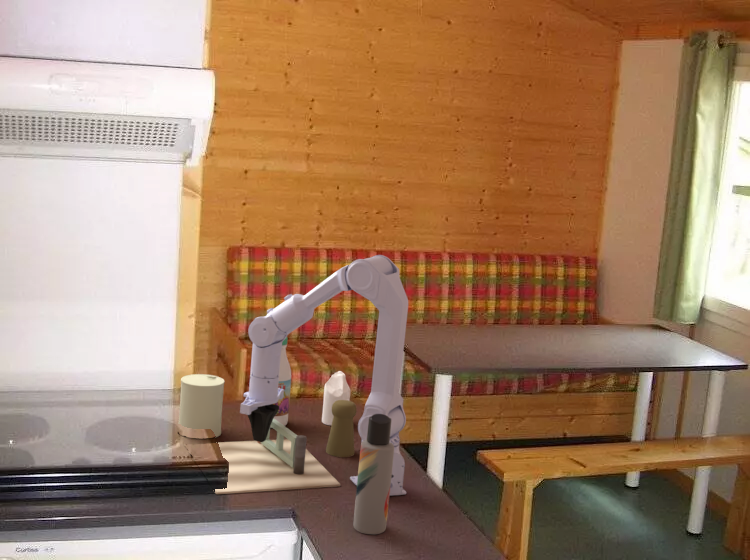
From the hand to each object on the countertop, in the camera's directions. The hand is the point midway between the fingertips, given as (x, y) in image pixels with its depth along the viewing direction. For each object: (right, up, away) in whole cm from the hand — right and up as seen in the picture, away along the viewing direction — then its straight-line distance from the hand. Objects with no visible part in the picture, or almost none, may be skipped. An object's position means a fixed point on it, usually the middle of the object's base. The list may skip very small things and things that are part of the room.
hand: (259, 440), depth 201 cm
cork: (+16, -4, +8) cm, 18 cm away
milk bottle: (0, 0, +22) cm, 22 cm away
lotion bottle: (+22, -11, -29) cm, 38 cm away
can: (-14, 0, +12) cm, 19 cm away
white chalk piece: (+14, -1, +28) cm, 31 cm away
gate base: (0, -4, -4) cm, 6 cm away
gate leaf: (+4, -3, 0) cm, 5 cm away
